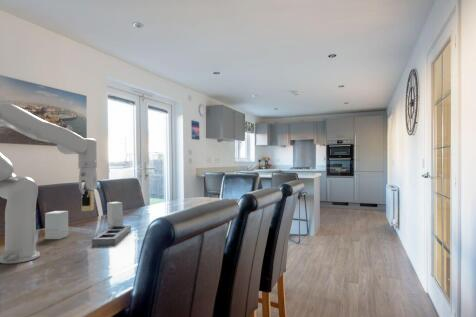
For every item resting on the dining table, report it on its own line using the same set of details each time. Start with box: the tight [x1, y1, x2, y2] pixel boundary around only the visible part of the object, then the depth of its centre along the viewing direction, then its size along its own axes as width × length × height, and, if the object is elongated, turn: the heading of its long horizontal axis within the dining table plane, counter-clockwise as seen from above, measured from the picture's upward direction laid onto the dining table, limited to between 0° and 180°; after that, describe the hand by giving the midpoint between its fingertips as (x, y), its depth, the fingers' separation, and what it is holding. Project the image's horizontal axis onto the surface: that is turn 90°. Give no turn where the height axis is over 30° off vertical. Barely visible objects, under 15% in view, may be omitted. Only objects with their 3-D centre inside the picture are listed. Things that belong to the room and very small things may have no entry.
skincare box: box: [106, 201, 124, 229], centre depth 166 cm, size 8×6×15 cm
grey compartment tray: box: [91, 225, 132, 247], centre depth 146 cm, size 28×10×3 cm, turn 6°
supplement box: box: [44, 210, 69, 240], centre depth 148 cm, size 7×7×13 cm
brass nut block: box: [81, 189, 95, 212], centre depth 138 cm, size 4×4×9 cm
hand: (87, 204), depth 138 cm, fingers closed on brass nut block, 4 cm apart
